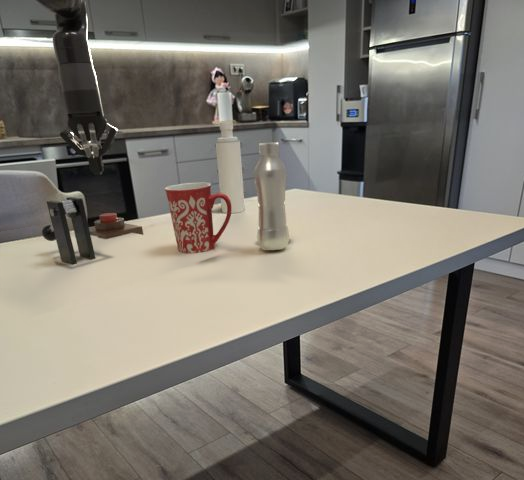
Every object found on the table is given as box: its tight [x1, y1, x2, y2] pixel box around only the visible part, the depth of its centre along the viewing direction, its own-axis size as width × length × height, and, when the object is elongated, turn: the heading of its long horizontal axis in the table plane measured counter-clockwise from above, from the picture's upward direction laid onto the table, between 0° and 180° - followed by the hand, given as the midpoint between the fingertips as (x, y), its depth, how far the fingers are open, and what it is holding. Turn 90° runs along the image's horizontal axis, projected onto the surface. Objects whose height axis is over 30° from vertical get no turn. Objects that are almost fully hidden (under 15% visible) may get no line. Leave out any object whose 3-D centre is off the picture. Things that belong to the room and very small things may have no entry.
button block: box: [89, 216, 144, 240], centre depth 117 cm, size 12×10×4 cm
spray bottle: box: [215, 120, 246, 214], centre depth 133 cm, size 7×7×25 cm
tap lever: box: [41, 199, 77, 242], centre depth 95 cm, size 14×3×3 cm, turn 48°
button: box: [99, 212, 118, 222], centre depth 115 cm, size 4×4×2 cm
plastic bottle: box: [253, 142, 290, 251], centre depth 93 cm, size 6×7×20 cm
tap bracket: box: [46, 196, 96, 266], centre depth 92 cm, size 10×8×13 cm
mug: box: [164, 181, 232, 254], centre depth 95 cm, size 13×9×14 cm
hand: (98, 174), depth 110 cm, fingers closed
